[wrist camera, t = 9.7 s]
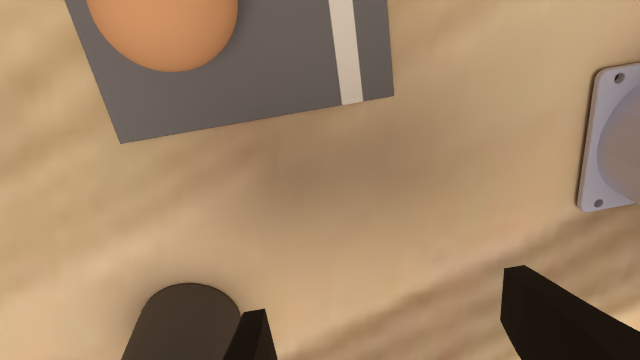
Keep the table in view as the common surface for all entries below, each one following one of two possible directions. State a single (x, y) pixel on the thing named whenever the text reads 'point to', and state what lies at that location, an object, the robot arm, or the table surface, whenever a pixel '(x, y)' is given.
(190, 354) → the bottle
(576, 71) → the table surface
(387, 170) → the table surface
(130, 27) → the ball
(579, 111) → the table surface
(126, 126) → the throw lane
